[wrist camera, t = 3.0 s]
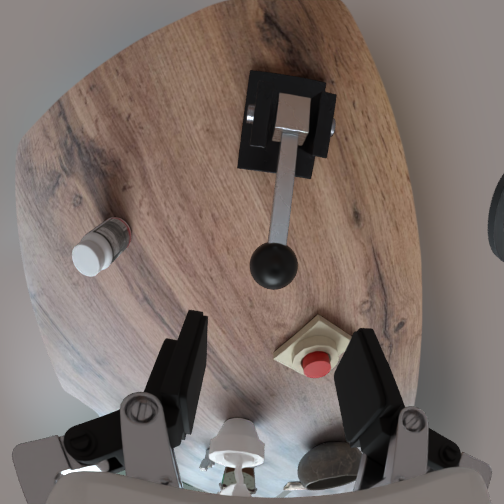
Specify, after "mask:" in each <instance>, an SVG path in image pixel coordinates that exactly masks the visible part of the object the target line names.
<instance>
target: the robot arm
mask: <svg viewBox="0 0 504 504" xmlns="http://www.w3.org/2000/svg"><path fill="white" fill-rule="evenodd" d="M207 326H208V316H203V312H200V311H194V310H189V311H188V313H187V316H186V319H185V321H184V324H183V327H182V329H181V332H180V335H179V338H178V340H173V339H167V338H166V339H165V340H164V342H163V345H162V347H161V350H160V352H159V354H158V357H157V359H156V362H155V364H154V367H153V370H152V372H151V375H150V377H149V380H148V382H147V385H146V388H145V390H144V392H136V393H132V394H130V395H128V396H127V397H126V398H124V399H123V401H122V403H121V407H120V410H117V411H115V412H112V413H110V414H107V415H104V416H102V417H99V418H96V419H93V420H90V421H88V422H85V423H82V424H79V425H76V426H74V427H71V428H70V429H69V430H68V431H67V432H66V433H65V435H64V436H61V437H59V436H58V435H55V436H51V437H47V438H43V439H39V440H35V441H30V442H26V443H21V444H19V445H17V446H16V447H15V448H14V449H13V453H12V458H13V463H14V466H15V469H16V473H17V476H18V479H19V482H20V485H21V488H22V490H23V493H24V496H25V498H26V501H27V503H28V504H491V500H490V496H489V493H488V486H489V483H490V480H491V475H492V471H491V468H490V466H489V465H488V464H487V463H485V462H483V461H481V460H478V459H476V458H474V457H473V456H470V455H468V454H466V453H464V452H462V453H461V452H460V449H459V447H458V446H457V445H456V444H455V443H454V442H452V441H451V440H449V439H447V438H445V437H444V436H441V435H440V434H438V433H437V432H435V431H433V430H432V429H430V428H429V424H428V418H427V416H426V414H425V413H424V412H423V411H422V410H421V409H419V408H417V407H414V406H409V407H405V406H404V403H403V400H402V397H401V395H400V392H399V389H398V387H397V384H396V382H395V379H394V377H393V374H392V372H391V369H390V367H389V364H388V362H387V360H386V358H385V356H384V353H383V351H382V349H381V346H380V344H379V342H378V339H377V337H376V335H375V332H374V330H373V329H367V328H359V329H358V331H355V332H354V333H353V335H352V338H351V340H350V342H349V344H348V346H347V348H346V350H345V353H344V355H343V357H342V359H341V361H340V363H339V365H338V367H337V369H336V371H335V373H334V381H335V386H336V391H337V396H338V401H339V406H340V411H341V416H342V421H343V427H344V432H345V438H346V441H347V442H350V448H355V447H361V452H363V453H362V457H361V462H360V466H359V470H358V474H357V478H356V482H355V485H354V489H353V492H347V493H340V494H333V495H323V496H312V497H294V498H260V497H241V496H229V495H220V494H212V493H205V492H199V491H192V490H187V489H184V488H183V485H182V481H181V477H180V473H179V469H178V465H177V461H176V456H175V452H174V448H175V447H177V446H179V445H180V444H181V439H182V440H185V437H186V434H190V435H191V433H192V429H193V424H194V419H195V414H196V410H197V405H198V400H199V395H200V391H201V386H202V382H203V377H204V372H205V368H206V358H207ZM123 470H125V471H126V476H124V475H120V474H115V473H118V472H121V471H123Z"/></svg>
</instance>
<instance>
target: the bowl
mask: <svg viewBox="0 0 504 504" xmlns="http://www.w3.org/2000/svg"><path fill="white" fill-rule="evenodd" d="M361 457H362V453H361V451H360V450H359V449H358V448H357V447H355V448H350V444H348V443H344V442H328V443H324V444H321V445H318V446H316V447H314V448H313V449H311V450H310V451H309V452H307V453H306V454H305V455H304V456H303V458H302V459H301V461H300V462H299V465H298V478H299V480H300V482H301V484H302V486H303V487H304V488H305V489H307V490H324V489H329V488H334V487H338V486H342V485H346V484H349V483H352V482H354V481H356V478H357V474H358V470H359V466H360V462H361Z"/></svg>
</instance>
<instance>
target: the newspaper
mask: <svg viewBox="0 0 504 504" xmlns="http://www.w3.org/2000/svg"><path fill="white" fill-rule="evenodd" d="M284 490H305V488H304V487H303V486H302V484H301V483H291V482H288V484H287V485H286V486H285V487H284Z"/></svg>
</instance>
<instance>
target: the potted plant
mask: <svg viewBox="0 0 504 504" xmlns="http://www.w3.org/2000/svg"><path fill="white" fill-rule="evenodd" d="M264 446H265V444H264V443H263V442H262V441H260V440H259V437H258V434H257V431H256V429H255V426H254V424H253V423H252V422H251V421H249V420H246V419H243V418H232V419H228V420H227V421H225V422H224V424H223V426H222V428H221V429H220V431H219V433H218V435H217V436H216V437H214V438H213V439H211V442H210V448H209V459H210V460H212V461H214V462H215V463H217V464H221V465H224V466H226V467H232V468H235V470H234V473H235V479H236V482H237V483H236V484H230V485H229V486H227V487H225V488H224V489H222V490H221V491H220V493H219V492H218V493H217V494H220V495H229V496H241V497H252V496H251V494H250V492H249V491H248V489H247V487H246V484H243V483H244V478H243V474H242V468H245V467H255V466H257V465H260V464H263V461H264Z"/></svg>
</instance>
